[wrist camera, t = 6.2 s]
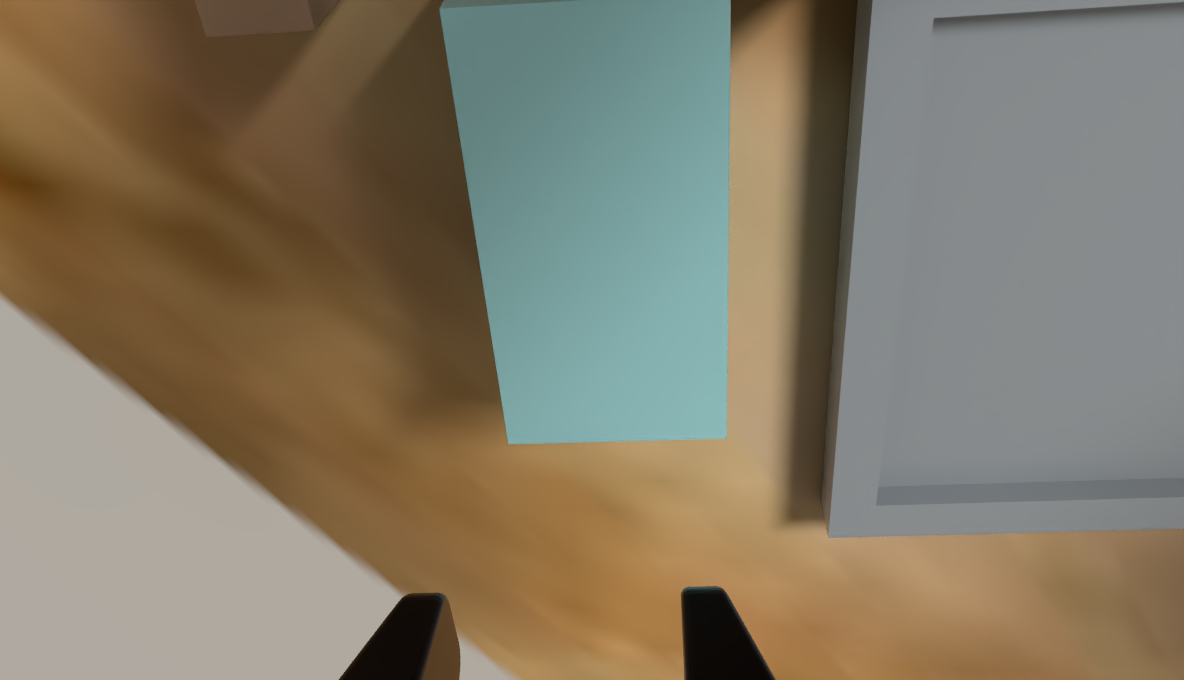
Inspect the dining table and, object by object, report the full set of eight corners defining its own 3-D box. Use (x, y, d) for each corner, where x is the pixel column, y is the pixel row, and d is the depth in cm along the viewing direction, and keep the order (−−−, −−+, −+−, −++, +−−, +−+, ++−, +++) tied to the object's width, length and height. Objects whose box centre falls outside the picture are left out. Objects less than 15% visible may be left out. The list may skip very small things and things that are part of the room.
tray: (1571, -112, 16) (1633, -95, 15) (1299, 487, 23) (1328, 525, 22) (862, -61, 17) (876, -42, 16) (820, 500, 24) (827, 537, 23)
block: (731, -9, 14) (727, 438, 18) (713, -80, 17) (713, 314, 21) (439, 8, 14) (507, 444, 18) (478, -65, 17) (528, 321, 22)
